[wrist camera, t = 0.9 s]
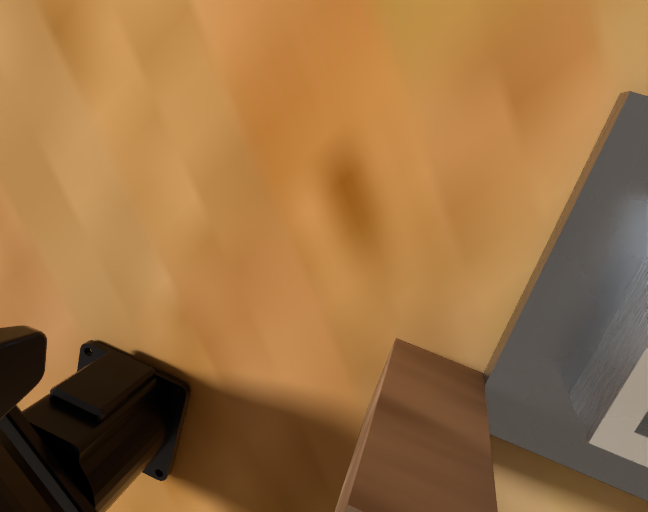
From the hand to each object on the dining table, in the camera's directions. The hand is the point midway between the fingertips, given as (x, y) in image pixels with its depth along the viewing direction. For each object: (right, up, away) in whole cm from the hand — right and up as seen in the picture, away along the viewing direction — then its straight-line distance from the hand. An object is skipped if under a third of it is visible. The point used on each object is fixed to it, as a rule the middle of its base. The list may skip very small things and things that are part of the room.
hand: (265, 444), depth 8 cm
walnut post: (+5, -3, +14) cm, 15 cm away
